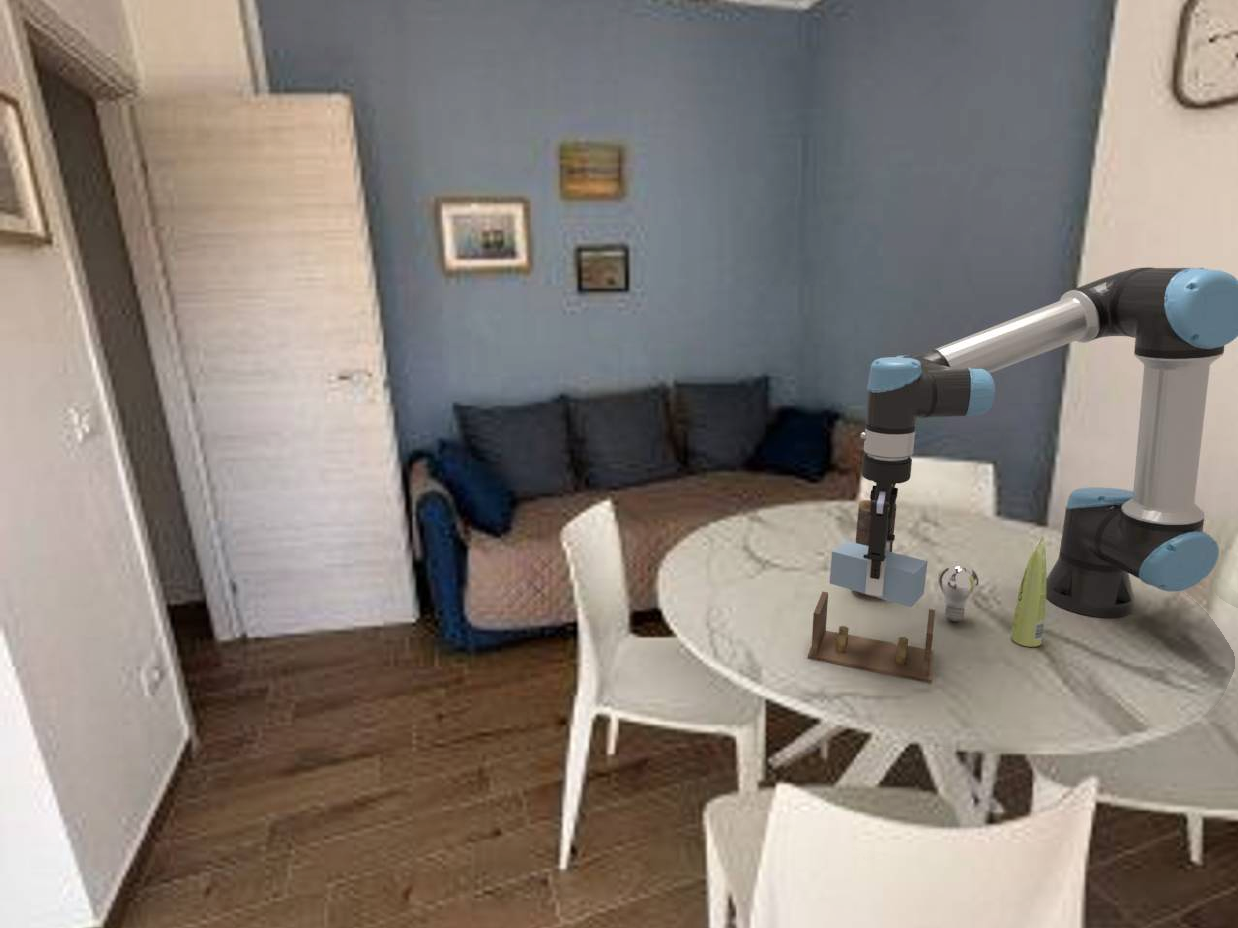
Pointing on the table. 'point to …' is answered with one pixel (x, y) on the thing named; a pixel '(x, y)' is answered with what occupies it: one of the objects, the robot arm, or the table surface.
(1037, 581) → the tube
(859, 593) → the brown rusty cylinder
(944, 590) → the light bulb
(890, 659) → the peg stand
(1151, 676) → the table surface
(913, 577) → the block
